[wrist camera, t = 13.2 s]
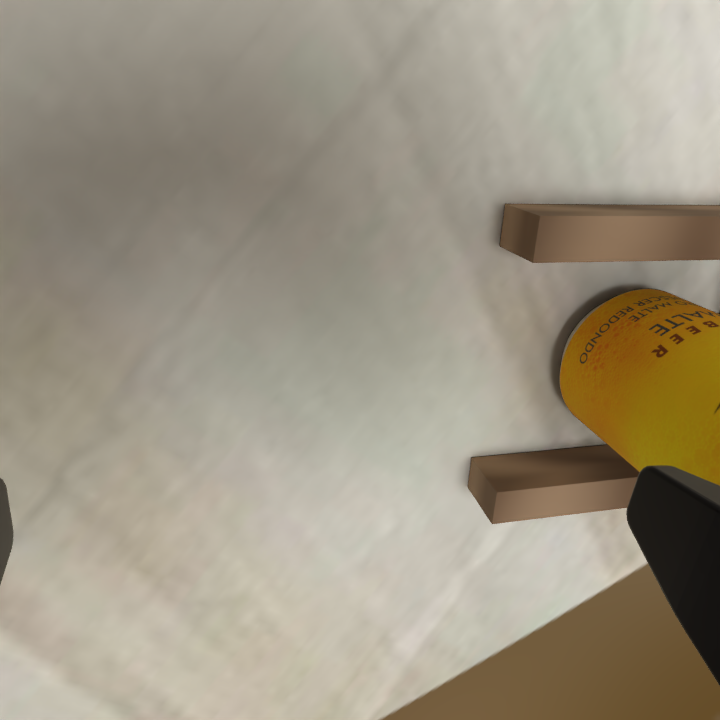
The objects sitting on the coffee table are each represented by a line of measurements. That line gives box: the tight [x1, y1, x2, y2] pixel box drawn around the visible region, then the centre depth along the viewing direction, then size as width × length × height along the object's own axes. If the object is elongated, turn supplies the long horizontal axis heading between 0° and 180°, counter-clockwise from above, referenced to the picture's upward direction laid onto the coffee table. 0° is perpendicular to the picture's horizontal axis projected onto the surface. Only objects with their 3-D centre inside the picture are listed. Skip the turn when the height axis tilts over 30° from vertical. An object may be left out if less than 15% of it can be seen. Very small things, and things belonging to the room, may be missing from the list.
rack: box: [468, 204, 720, 524], centre depth 23 cm, size 12×12×4 cm
